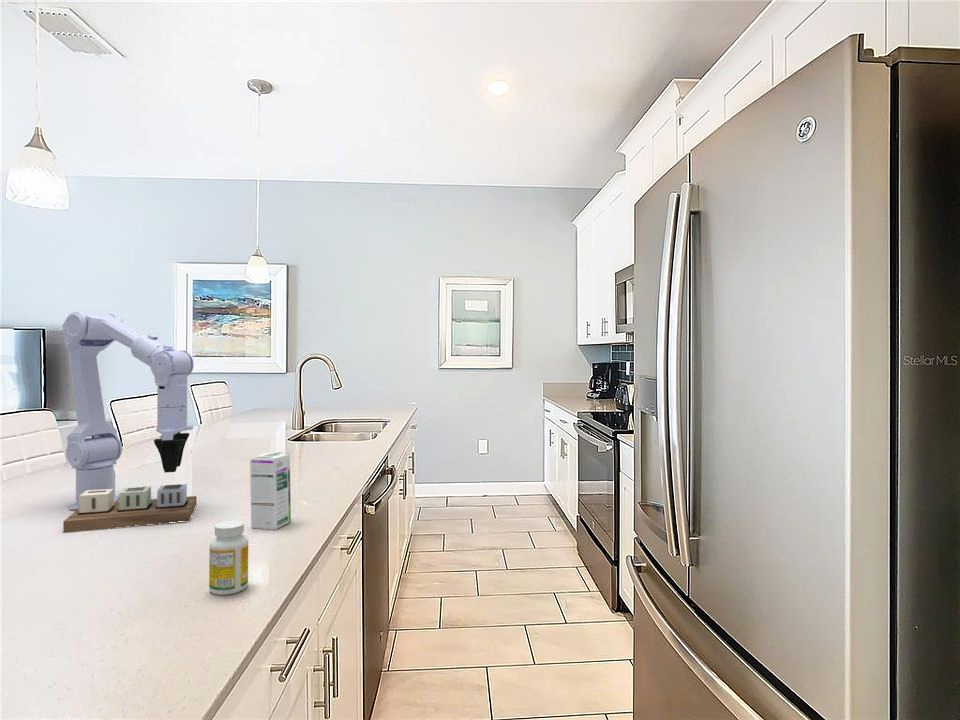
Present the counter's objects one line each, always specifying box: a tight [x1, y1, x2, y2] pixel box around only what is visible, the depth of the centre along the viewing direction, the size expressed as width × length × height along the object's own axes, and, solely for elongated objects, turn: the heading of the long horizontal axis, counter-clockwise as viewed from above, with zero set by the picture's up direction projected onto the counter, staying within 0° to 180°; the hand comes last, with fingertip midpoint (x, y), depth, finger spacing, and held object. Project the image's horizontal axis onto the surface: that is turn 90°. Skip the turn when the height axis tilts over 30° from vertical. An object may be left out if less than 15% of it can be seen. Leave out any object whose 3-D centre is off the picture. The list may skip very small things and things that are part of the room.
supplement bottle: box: [208, 520, 249, 596], centre depth 87 cm, size 5×5×10 cm
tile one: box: [79, 489, 114, 513], centre depth 122 cm, size 5×5×4 cm
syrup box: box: [249, 451, 292, 531], centre depth 119 cm, size 6×6×14 cm
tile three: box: [156, 483, 188, 507], centre depth 126 cm, size 5×5×4 cm
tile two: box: [118, 485, 152, 510], centre depth 124 cm, size 5×5×4 cm
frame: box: [62, 495, 197, 533], centre depth 124 cm, size 14×22×2 cm, turn 110°
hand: (172, 469), depth 126 cm, fingers open, 6 cm apart
